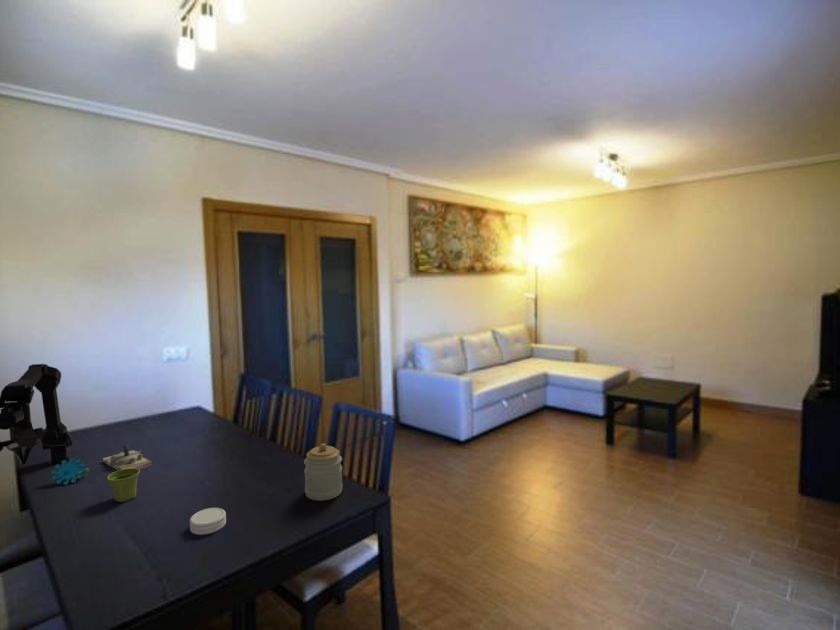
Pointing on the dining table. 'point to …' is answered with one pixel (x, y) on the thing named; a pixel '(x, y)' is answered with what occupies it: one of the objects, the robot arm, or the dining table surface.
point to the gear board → (135, 465)
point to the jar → (323, 473)
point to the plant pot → (124, 483)
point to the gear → (69, 471)
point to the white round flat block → (207, 521)
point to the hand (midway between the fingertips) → (23, 464)
